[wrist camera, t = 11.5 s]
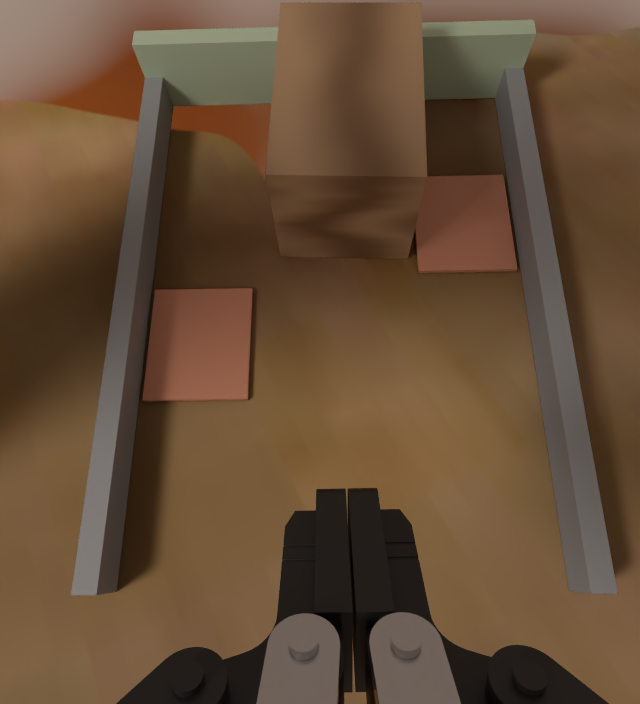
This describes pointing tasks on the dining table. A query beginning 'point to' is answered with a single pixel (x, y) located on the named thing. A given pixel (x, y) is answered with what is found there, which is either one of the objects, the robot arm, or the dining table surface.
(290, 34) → the walnut block
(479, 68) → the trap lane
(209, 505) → the dining table surface
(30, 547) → the dining table surface
